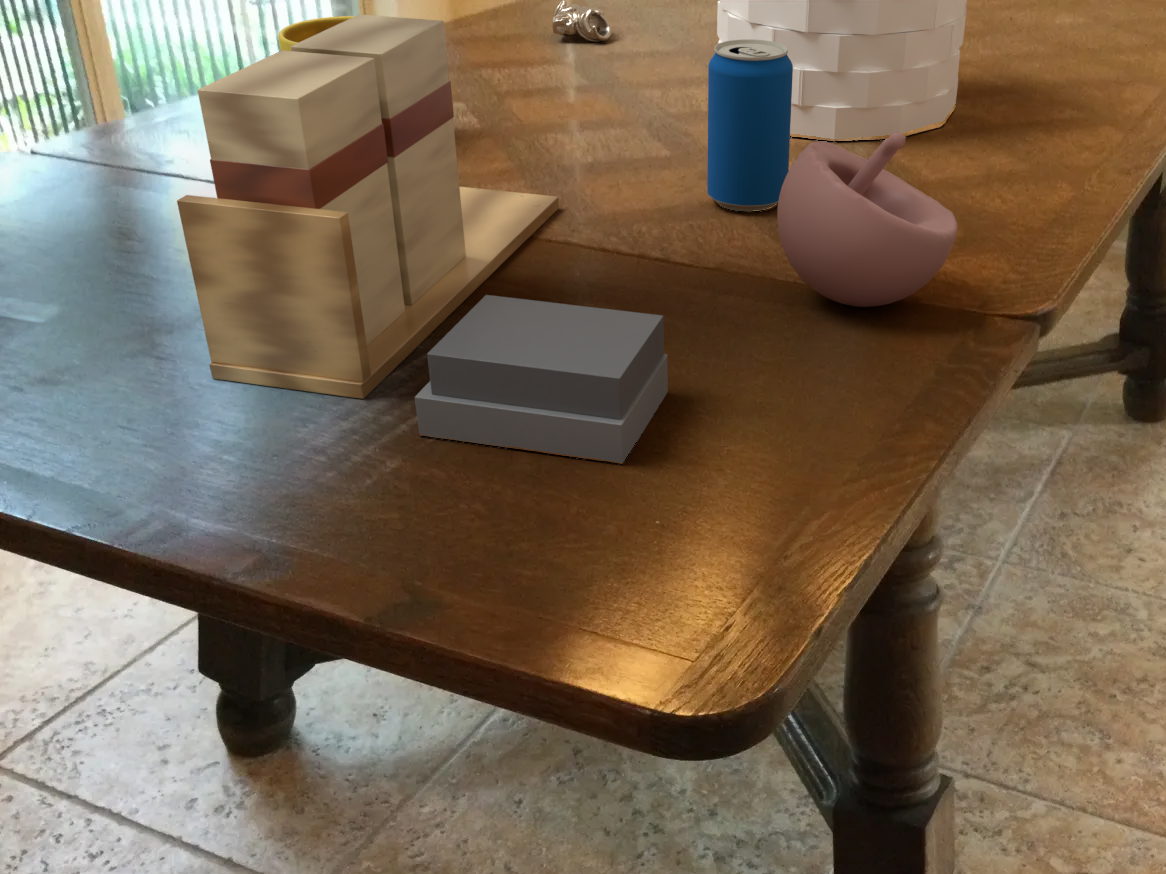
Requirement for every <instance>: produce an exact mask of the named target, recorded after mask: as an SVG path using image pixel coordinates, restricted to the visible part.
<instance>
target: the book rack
mask: <svg viewBox="0 0 1166 874" xmlns="http://www.w3.org/2000/svg"><path fill="white" fill-rule="evenodd" d="M354 16H355V17H353V18H350V19H348V20H346V21H344V22H342V23H340V24H338V25H335V26H333V27H331V28H329V29H327V30H325V31H323V32H320V33H318V34H316V35H314V36H312V37H310V38H308V39H305V40H303V41H301V42H299V43H297V44H295V45H293V46H291V51H280V50H279V51H278V52H276V53H275V52H274V53H273V54H271V55H269V56H267V57H265V58H262V59H260V60H258V61H256V62H254V63H252V64H249V65H247V66H245V67H243V68H241V69H239V70H237V71H235V72H233V73H230V74H228V75H226V76H224V77H222V78H219V79H216V80H215V81H213V82H211V83H209V84H206V85H204V86H202V87H200V88H198V89H197V95H198V99H199V104H200V105H199V106H200V111H201V115H202V120H203V125H204V130H205V135H206V141H207V145H208V151H209V157H210V158H209V163H210V169H211V174H212V178H213V184H214V188H215V195H216V197H209V196H201V195H200V196H199V195H191V194H186V195H183V196H182V197H180V198H179V199H177V200H176V204H177V208H178V212H179V213H178V214H179V217H180V222H181V227H182V231H183V236H184V241H185V245H186V251H187V255H188V259H189V264H190V268H191V269H190V270H191V274H192V279H193V284H194V288H195V293H196V297H197V298H196V299H197V302H198V307H199V311H200V317H201V321H202V325H203V331H204V334H205V341H206V344H207V350H208V353H209V359H210V363H209V369H210V373H211V378H212V379H214V380H220V381H229V382H236V383H243V384H250V385H251V384H252V385H258V386H259V385H260V386H266V387H273V388H279V389H280V388H281V389H287V390H295V391H302V392H310V393H315V394H316V393H318V394H323V395H324V394H325V395H332V396H339V397H346V398H353V399H361V400H364V399H365V398H367V396H369V395H370V393H372V392H373V390H374V389H375V388H377V387H378V386H379V385H380V384H381V383H382V382H383V381H384V380H385V379H386V378H387V377H388V376H389V375H391V373H392V372H393V371H394V370H395V369H396V368H397V367H398V366H399V365H400V364H401V363H402V362H403V361H404V360H405V359H407V357H408V356H409V355H410V354H412V353H413V351H414V350H416V348H418V346H420V345H421V344H422V343H423V342H424V341H425V340H426V339H427V338H428V337H429V336H430V335H431V334H432V333H433V332H434V331H435V330H436V329H438V327H439V326H440V325H441V324H442V323H443V322H444V321H445V320H446V319H447V318H448V317H449V316H450V315H451V314H452V313H453V312H455V311H456V310H457V308H458V307H460V306H461V305H462V304H463V303H464V301H466V300H467V299H468V298H469V297H470V296H471V295H472V294H473V293H474V292H475V291H476V290H478V288H479V287H480V286H481V285H482V284H483V283H484V282H485V281H486V280H487V279H488V278H489V277H490V276H491V275H492V274H493V273H494V272H495V271H497V269H498V268H499V267H500V266H501V265H502V264H504V263H505V261H507V260H508V258H509V257H511V256H512V255H513V254H514V253H515V252H516V251H517V250H518V249H519V248H520V247H521V246H522V245H523V244H524V243H525V242H526V241H528V239H529V238H530V237H531V236H532V235H533V234H534V233H536V231H537V230H539V228H541V227H542V225H544V224H545V223H546V222H547V221H548V219H549V218H551V217H552V216H553V215H554V214H555V213H556V212H557V211H558V210H559V209H560V202H559V196H555V195H546V194H537V193H525V192H517V191H516V192H515V191H508V190H507V191H506V190H496V189H487V188H479V187H478V188H477V187H467V186H460V179H459V178H460V177H459V167H458V157H457V145H456V135H455V125H454V117H455V114H454V103H453V93H452V83H451V82H452V81H451V80H450V73H449V61H448V60H449V59H448V51H447V42H446V41H447V39H446V29H445V28H446V27H445V21H444V20H438V19H425V18H413V17H412V18H411V17H401V16H399V17H398V16H386V15H375V14H360V13H359V14H357V15H354Z"/></svg>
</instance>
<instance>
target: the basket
mask: <svg viewBox="0 0 1166 874" xmlns="http://www.w3.org/2000/svg"><path fill="white" fill-rule="evenodd" d="M967 3H968V0H717V6H716V7H717V8H716V9H717V11H716V12H717V14H716V15H717V18H716V36H717V37H718V41H717V44H719V43H722V42H725V41H731V40H741V39H755V40H766V41H772V42H777V43H780V44H783V45H785V46H786V47H787V48H788V53H787V56H788V57H789V59H790V60H791V62H792V65H793V77H792V100H791V123H790V134H800V135H807V136H816V137H821V138H830V139H843V138H857V137H870V136H883V135H893V134H894V133H905V132H908V131H911V130H914V129H918V128H922V127H924V126H928V125H931V124H935V123H939V122H942V121H944V120H945V118H946V117H947V115H948V114H949V112H950V111H951V110H952V108H953V106H954V105H955V104H957V95H958V87H959V79H960V77H959V68H960V58H961V51H960V48H961V47H962V46H963V44H964V38H965V29H966V28H965V27H966V21H967V20H966V18H967ZM955 106H956V105H955Z"/></svg>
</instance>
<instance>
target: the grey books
mask: <svg viewBox="0 0 1166 874" xmlns="http://www.w3.org/2000/svg"><path fill="white" fill-rule="evenodd" d="M664 318H665V317H664V315H661V314H652V313H644V312H636V311H627V310H619V309H610V308H603V307H593V306H586V305H585V306H583V305H575V304H568V303H561V302H560V303H559V302H551V301H544V300H543V301H541V300H534V299H525V298H517V297H510V296H509V297H508V296H500V295H489V294H485V295H484V296H483V297H482V298H481V299H480V300H479V301H478V302H477V303H476V304H475V305H474V306H473V307H472V308H470V310H469V311H468V312H467V313H466V314H465V315H464V316H463V317H462V318H461V319H460V320H459V321H458V322H457V323H456V324H455V325H454V326H453V327H452V328H451V329H450V331H448V332H447V333H446V334H445V335H444V336H443V337H442V338H441V339H440V340H439V341H438V342H437V343H436V344H435V345H434V346H433V347H432V348H431V349H430V350H429V351H428V352H427V354H426V355H427V364H428V373H429V381H428V383H427V384H425V385H424V386H423V388H421V390H420V391H419V392H418V393H417V394H416V395H415V396H414V403H415V411H416V412H415V413H416V418H417V428H418V435H419V434H422V435H426V436H431V437H439V438H447V439H455V440H460V441H469V442H474V443H482V444H487V445H488V444H491V445H496V446H499V445H500V446H505V447H508V446H509V447H519V448H524V449H531V450H539V451H545V452H550V453H560V454H566V455H572V456H578V457H584V458H585V457H589V458H595V459H601V460H604V459H605V460H607V461H614V462H620V463H623V462H624V461H625V459H626V457H627V456H628V454H629V453H630V454H631V452H632V451H633V449H634V448H635V446H636V444H637V443H638V442H639V440H640V438H641V436H642V435H643V433H644V431H645V430H646V428H647V427H648V425H649V424H650V422H651V420H652V419H653V417H654V415H655V414H656V412H657V411H658V409H659V407H660V406H661V404H662V402H663V401H664V399H665V398H666V395H668V393H669V378H668V377H669V371H668V370H669V366H668V365H669V364H668V363H669V362H668V361H669V359H668V358H669V357H668V354H666V353H665V344H664V343H665V335H664V334H665V333H664V330H665V329H664V327H665V325H664V324H665V323H664V320H665V319H664ZM659 405H660V406H659ZM654 413H655V414H654ZM641 434H642V435H641ZM636 442H637V443H636ZM635 443H636V444H635ZM634 445H635V446H634ZM633 447H634V448H633ZM632 448H633V449H632ZM631 450H632V451H631ZM630 451H631V452H630ZM630 454H629V455H630ZM628 457H629V456H628ZM628 457H627V458H628ZM626 460H627V459H626ZM625 462H626V461H625ZM625 462H624V463H625Z"/></svg>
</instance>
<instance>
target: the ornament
mask: <svg viewBox="0 0 1166 874" xmlns="http://www.w3.org/2000/svg"><path fill="white" fill-rule="evenodd" d="M551 24H552V33H553V34H557V35H565V34H566V35H567V36H573V35H574V36H575V35H579V36H580V37H581V38H583V39H584V40H586V41H588V42H592V43H600V42H601V41H602V42H606V41H608V40H609V39H610V38H611V36H612V27H611V24H610V22H609V20H608V18H607V17H606V16H605V13H604V10H602V9H601V8H598V7H594V6H586V5H583V6H580V5H579V4H576V3H571V4H570V5H568V2H567V0H561V1H560V2H559V3H558V4H557V6H556V8H555V11H554V13H553V17H552V23H551Z"/></svg>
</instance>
